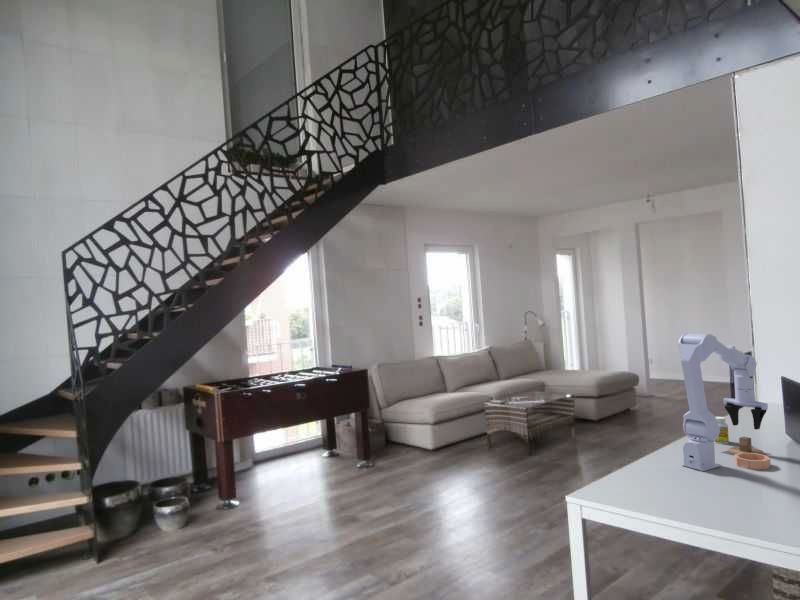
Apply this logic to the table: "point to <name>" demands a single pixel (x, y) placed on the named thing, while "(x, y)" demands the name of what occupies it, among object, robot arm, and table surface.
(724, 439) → the supplement bottle
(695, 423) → the robot arm
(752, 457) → the bowl
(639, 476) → the table surface
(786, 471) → the table surface
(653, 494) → the table surface
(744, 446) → the lid
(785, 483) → the table surface
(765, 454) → the mat
